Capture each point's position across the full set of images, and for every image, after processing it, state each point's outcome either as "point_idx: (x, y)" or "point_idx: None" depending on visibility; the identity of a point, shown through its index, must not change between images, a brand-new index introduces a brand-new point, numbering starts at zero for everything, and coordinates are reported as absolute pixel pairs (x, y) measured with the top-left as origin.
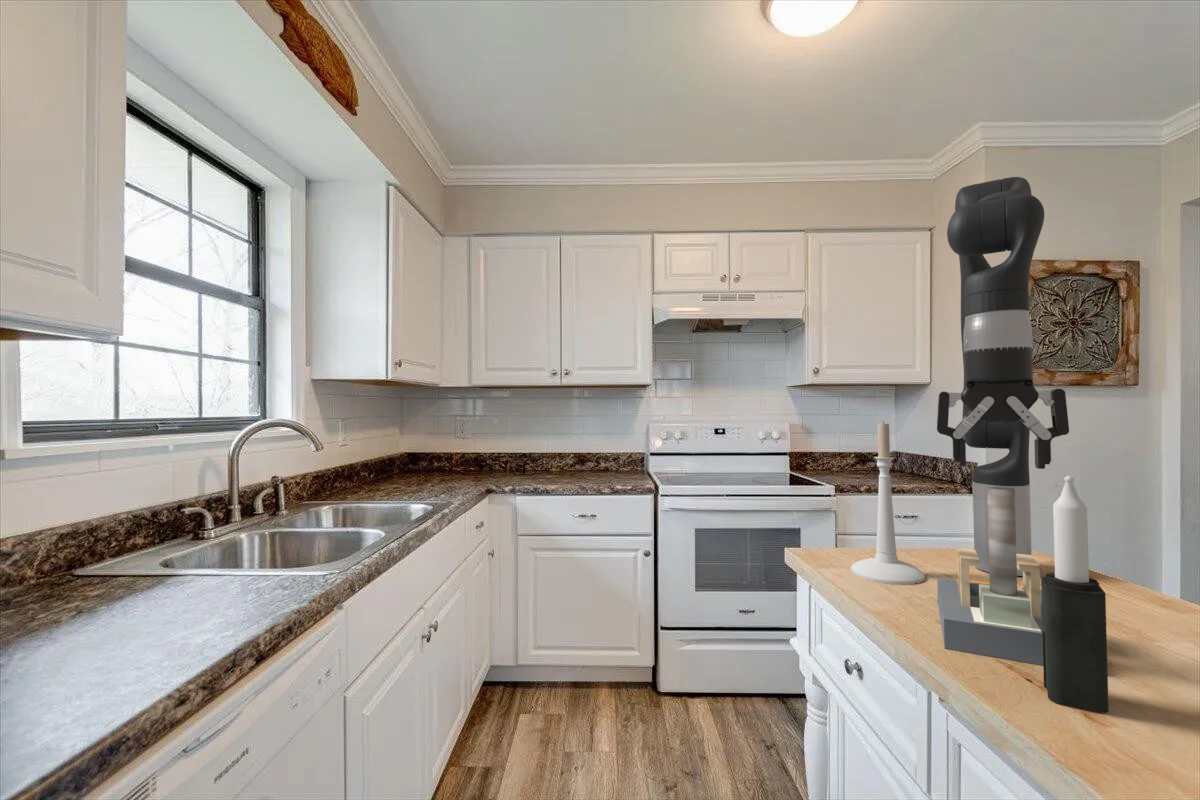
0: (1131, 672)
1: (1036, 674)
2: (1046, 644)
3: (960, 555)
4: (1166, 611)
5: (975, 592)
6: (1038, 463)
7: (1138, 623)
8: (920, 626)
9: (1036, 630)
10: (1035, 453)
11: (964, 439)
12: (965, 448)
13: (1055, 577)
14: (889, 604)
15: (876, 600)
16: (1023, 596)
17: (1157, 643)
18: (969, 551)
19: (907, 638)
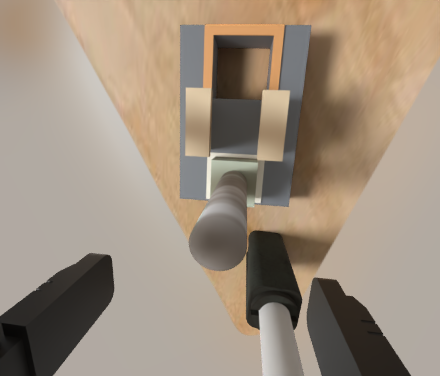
0: (327, 181)
1: (249, 215)
2: (246, 276)
3: (186, 141)
4: None
5: (227, 40)
6: (310, 337)
7: (412, 11)
8: (169, 141)
9: (256, 202)
10: (329, 324)
11: (33, 366)
12: (71, 351)
13: (258, 315)
14: (137, 79)
15: (123, 70)
16: (251, 192)
17: (393, 86)
18: (201, 105)
19: (158, 179)
